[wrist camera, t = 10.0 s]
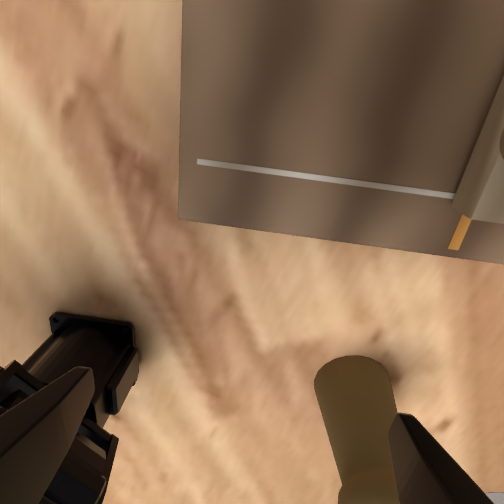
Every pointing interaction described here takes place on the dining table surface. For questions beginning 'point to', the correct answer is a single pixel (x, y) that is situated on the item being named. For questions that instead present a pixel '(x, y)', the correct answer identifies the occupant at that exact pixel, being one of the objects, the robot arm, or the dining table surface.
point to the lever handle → (485, 170)
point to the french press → (496, 497)
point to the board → (339, 118)
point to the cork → (359, 427)
